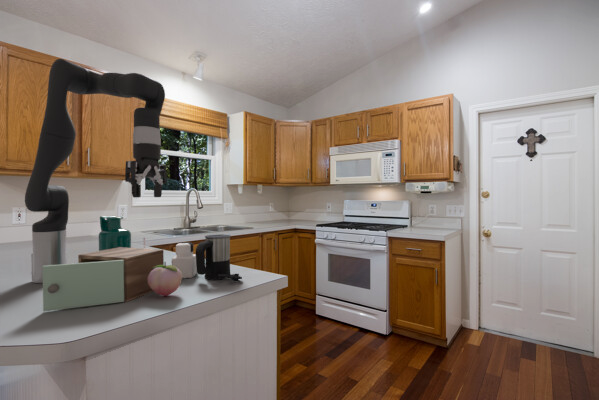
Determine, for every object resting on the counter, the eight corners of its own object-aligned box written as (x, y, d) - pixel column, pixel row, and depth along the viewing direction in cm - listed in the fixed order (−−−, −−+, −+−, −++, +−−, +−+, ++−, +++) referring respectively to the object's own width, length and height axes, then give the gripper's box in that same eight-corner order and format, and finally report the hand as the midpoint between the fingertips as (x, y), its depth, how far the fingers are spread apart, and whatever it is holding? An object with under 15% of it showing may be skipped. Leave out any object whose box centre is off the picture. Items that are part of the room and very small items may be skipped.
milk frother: (212, 273, 116) (212, 233, 116) (252, 274, 113) (251, 234, 113) (191, 283, 102) (191, 238, 102) (236, 286, 99) (235, 239, 99)
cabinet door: (41, 313, 76) (40, 267, 76) (44, 310, 78) (44, 265, 78) (123, 303, 82) (122, 261, 82) (124, 300, 84) (123, 259, 84)
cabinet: (79, 295, 90) (78, 254, 90) (120, 282, 104) (119, 247, 103) (127, 301, 85) (126, 258, 85) (163, 287, 98) (163, 249, 98)
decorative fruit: (188, 292, 92) (188, 259, 92) (171, 301, 84) (171, 265, 84) (161, 290, 94) (160, 258, 94) (142, 299, 86) (141, 264, 86)
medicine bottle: (177, 273, 116) (177, 241, 115) (197, 273, 116) (197, 241, 116) (171, 278, 108) (171, 244, 108) (192, 277, 109) (192, 244, 109)
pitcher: (133, 276, 112) (133, 215, 111) (109, 282, 104) (108, 217, 104) (119, 273, 117) (118, 215, 117) (95, 278, 110) (94, 216, 110)
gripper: (153, 147, 101) (154, 197, 101) (117, 140, 87) (117, 197, 88) (173, 146, 99) (173, 197, 99) (139, 139, 85) (139, 197, 86)
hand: (147, 197), depth 93 cm, fingers open, 8 cm apart
